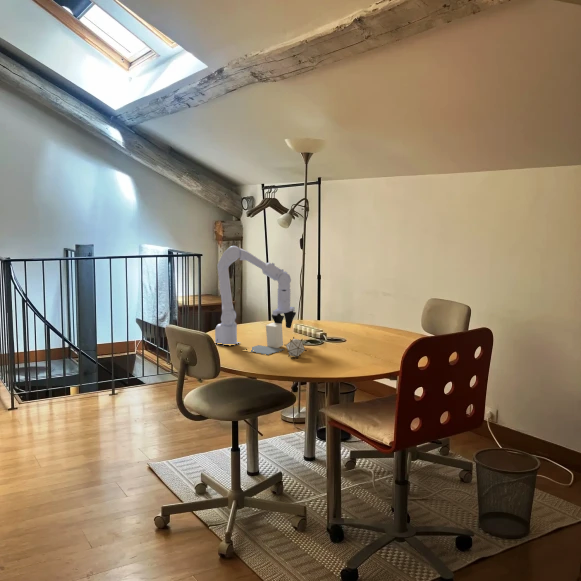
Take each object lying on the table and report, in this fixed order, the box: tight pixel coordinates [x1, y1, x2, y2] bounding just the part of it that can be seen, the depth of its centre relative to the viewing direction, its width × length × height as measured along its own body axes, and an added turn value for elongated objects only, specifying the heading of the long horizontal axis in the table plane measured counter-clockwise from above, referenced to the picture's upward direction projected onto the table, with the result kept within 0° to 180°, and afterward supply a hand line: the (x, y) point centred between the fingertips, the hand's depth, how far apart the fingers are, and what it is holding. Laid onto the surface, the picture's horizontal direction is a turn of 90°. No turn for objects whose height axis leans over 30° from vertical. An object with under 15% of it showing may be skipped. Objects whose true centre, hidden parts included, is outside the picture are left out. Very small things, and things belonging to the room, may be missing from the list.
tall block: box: [265, 321, 284, 348], centre depth 270 cm, size 5×5×10 cm
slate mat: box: [250, 344, 285, 356], centre depth 264 cm, size 14×12×1 cm
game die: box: [284, 336, 308, 360], centre depth 252 cm, size 9×8×10 cm
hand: (283, 329), depth 276 cm, fingers open, 7 cm apart
